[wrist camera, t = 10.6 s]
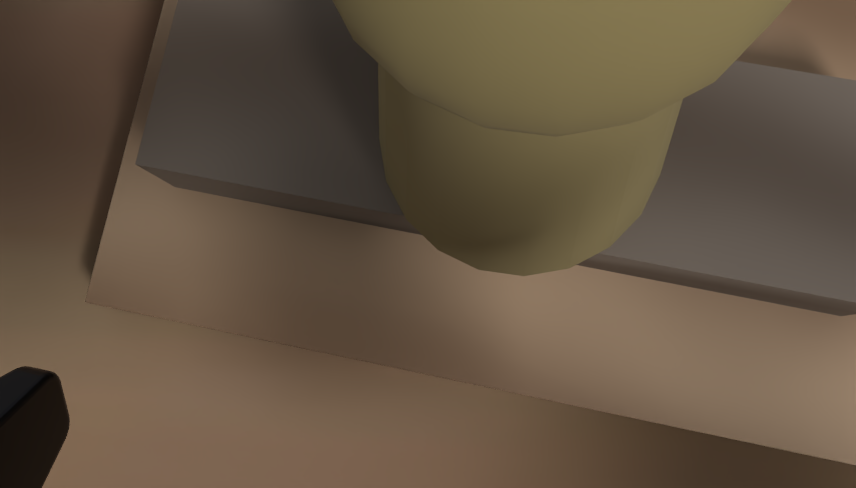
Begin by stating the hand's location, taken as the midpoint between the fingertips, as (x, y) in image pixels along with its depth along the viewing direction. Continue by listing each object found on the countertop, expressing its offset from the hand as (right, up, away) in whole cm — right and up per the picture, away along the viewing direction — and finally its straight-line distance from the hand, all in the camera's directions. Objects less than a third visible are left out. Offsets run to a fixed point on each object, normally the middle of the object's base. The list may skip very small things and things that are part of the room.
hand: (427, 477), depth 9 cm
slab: (+2, +5, +12) cm, 13 cm away
